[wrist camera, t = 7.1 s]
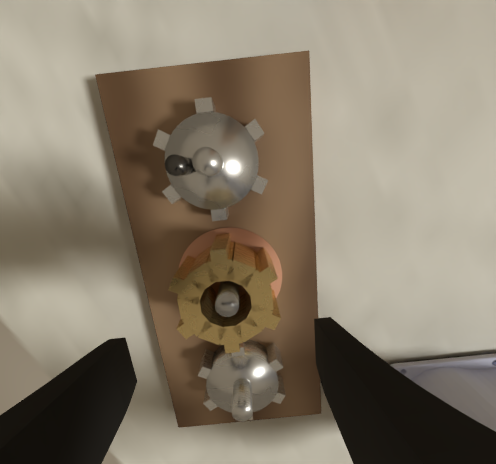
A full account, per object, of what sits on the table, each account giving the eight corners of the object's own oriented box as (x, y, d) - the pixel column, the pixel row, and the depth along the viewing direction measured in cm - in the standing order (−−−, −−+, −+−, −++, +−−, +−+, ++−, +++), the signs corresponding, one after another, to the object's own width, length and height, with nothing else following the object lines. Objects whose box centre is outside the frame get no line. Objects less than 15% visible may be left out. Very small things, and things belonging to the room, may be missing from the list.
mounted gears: (259, 101, 12) (264, 76, 9) (283, 396, 17) (292, 446, 14) (156, 112, 12) (126, 92, 9) (210, 403, 17) (202, 455, 14)
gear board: (303, 61, 13) (309, 49, 12) (316, 398, 19) (321, 414, 18) (108, 83, 13) (94, 73, 12) (182, 411, 19) (178, 428, 18)
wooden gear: (275, 314, 16) (283, 347, 13) (193, 323, 16) (182, 357, 13) (268, 229, 14) (275, 243, 11) (177, 238, 14) (160, 255, 11)
